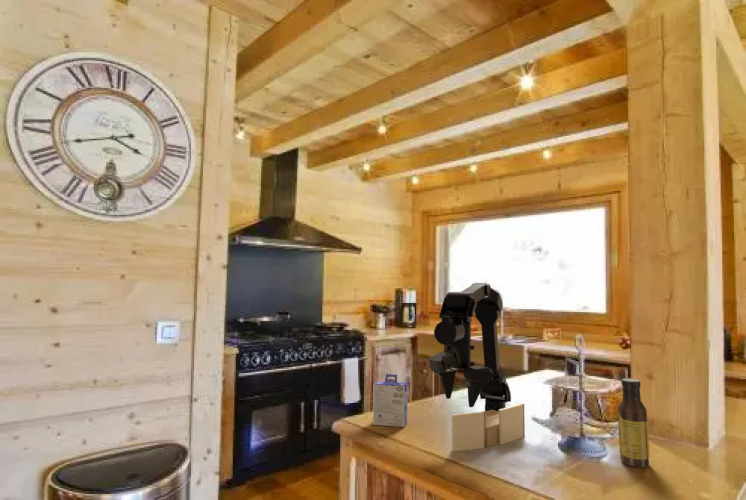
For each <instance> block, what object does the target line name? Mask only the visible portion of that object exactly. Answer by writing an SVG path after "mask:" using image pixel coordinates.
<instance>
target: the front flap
mask: <svg viewBox="0 0 746 500" xmlns="http://www.w3.org/2000/svg"><path fill="white" fill-rule="evenodd" d="M486 448H487V447H486V412H485V411H476V412H474V411H473V412H465V413H464V412H463V413H453V414H451V451H452V452H461V451H468V450H469V451H470V450H478V449H486Z"/></svg>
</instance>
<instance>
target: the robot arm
mask: <svg viewBox="0 0 746 500" xmlns="http://www.w3.org/2000/svg"><path fill="white" fill-rule="evenodd" d="M503 304H504V303H503V299H502V298H501V295H500V293H498V292H497V291H496V290H494V289H493V288H492V287H491V285H490V283H487V282H474V283H472V284H471V285H470V286H468V287H466V288H465V289H463V290H461V291H449V292H447V293H446V295H445V296H444V299H443V301H442V305H441V309H440V312H439V319H441V321H440V322H438V323H437V324H436V326H435V327H434V330H433V333H434V334H433V335H434V338H435V339H436V341H437V342H438V343H439V344H441V345H444V346H443V351H440V352H438V353H436V354H434V355H432V356H430V357H429V358H428V362H429V369H431V371H432V372H433V373H434V374H436V376H437V377H438V378H439V379H440V383H441V385H442V388H443V391H444V395H445V398H446V399H447V400H449V399H451V397H452V394H453V391H454V390H453V389H454V384H455V380H456V379H455V378H456V375H457V372H458V373H461V374H463V376H464V379H463V380H462V381H463V382H464V384H465V385H466V386H467V399H468V400H467V402H468V407H469V408H474V407H475V406H476V402H477V401H478V399H479V397H480V400H484V412H485V411H489V410H495V411H499V409H503V408H507V407H506V405H507V404H506V403H510V402H512V393H511V389H510V386H509V383H508V382H507V376H506V374H505V372H504V371H503V370H502V368H501V367H500V366H501V364H500V353H499V352H500V351H499V337H498V327H497V326H498V325H497V322H498V321H499V319H500V317H501V316H502V311H503V307H504V306H503ZM474 315H475V316H474ZM472 317H475V318H476V320H477V321H478V322H479V324H480V326H481V337H482V339H481V341H482V351H483V365H475V361H473V360H472V358H471V357H472V351H473V350H474V351H475V345H474V344H472V341H471V340H472V334H471V333H472V330H471V329H472V326H471V325H472V324H471V323H472Z"/></svg>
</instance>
